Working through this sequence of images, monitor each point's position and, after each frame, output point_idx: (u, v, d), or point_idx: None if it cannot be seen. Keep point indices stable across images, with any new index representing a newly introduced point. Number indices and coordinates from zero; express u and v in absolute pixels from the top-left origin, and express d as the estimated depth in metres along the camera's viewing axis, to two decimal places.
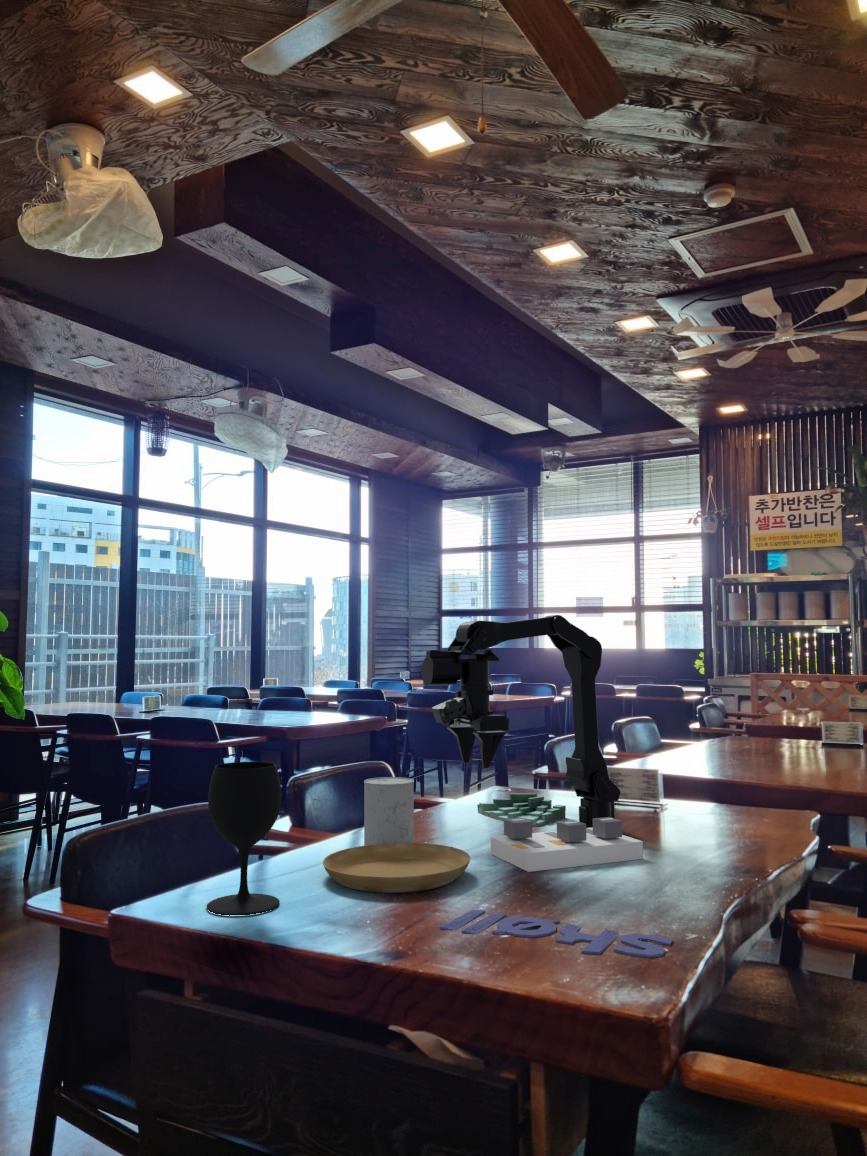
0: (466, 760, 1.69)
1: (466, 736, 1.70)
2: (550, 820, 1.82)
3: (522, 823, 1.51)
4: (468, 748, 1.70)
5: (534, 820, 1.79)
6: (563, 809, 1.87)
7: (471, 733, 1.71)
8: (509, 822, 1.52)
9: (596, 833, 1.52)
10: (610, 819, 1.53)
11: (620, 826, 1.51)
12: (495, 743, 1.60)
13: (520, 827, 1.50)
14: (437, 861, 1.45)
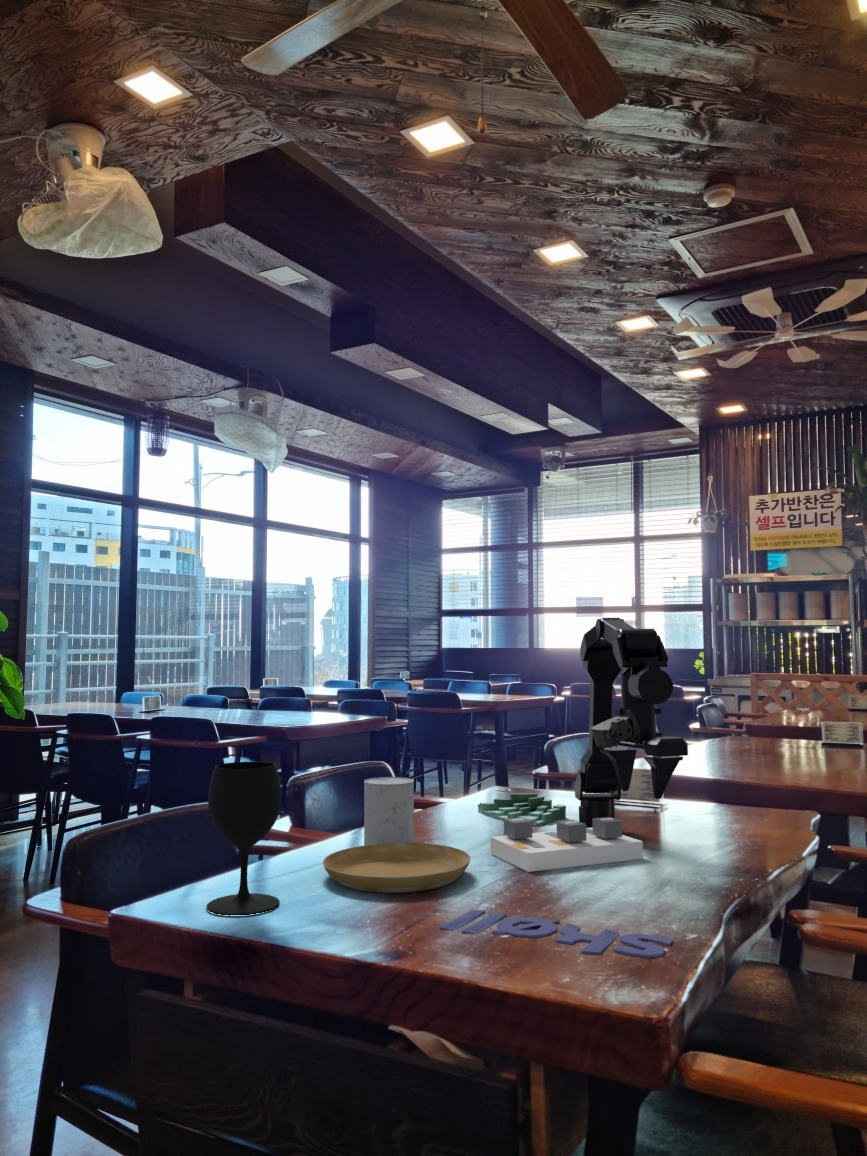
0: (625, 788, 1.47)
1: (624, 760, 1.48)
2: (550, 820, 1.82)
3: (522, 823, 1.51)
4: (627, 774, 1.48)
5: (534, 820, 1.79)
6: (563, 809, 1.87)
7: (630, 757, 1.49)
8: (509, 822, 1.52)
9: (596, 833, 1.52)
10: (610, 819, 1.53)
11: (620, 826, 1.51)
12: (669, 770, 1.38)
13: (520, 827, 1.50)
14: (437, 861, 1.45)
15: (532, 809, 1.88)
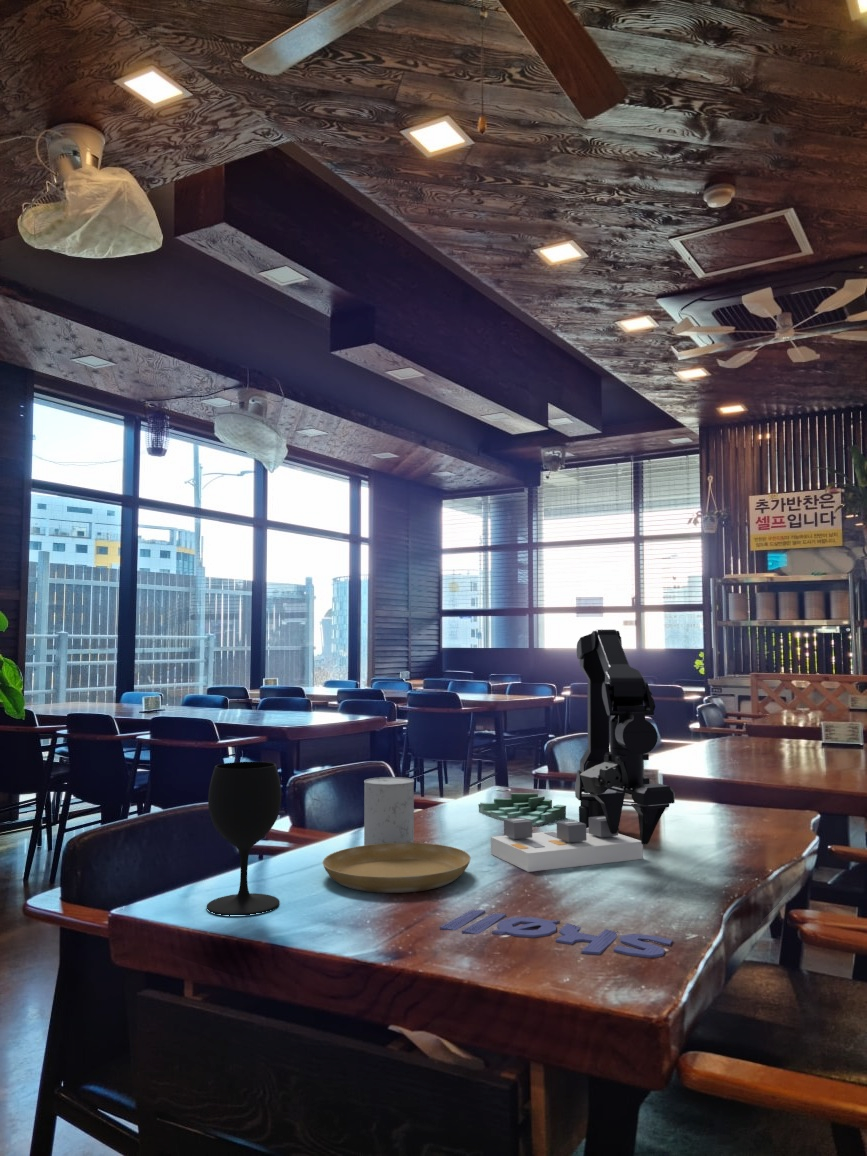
0: (614, 831, 1.51)
1: (613, 803, 1.52)
2: (550, 820, 1.82)
3: (522, 823, 1.51)
4: (616, 817, 1.51)
5: (533, 820, 1.80)
6: (563, 809, 1.87)
7: (618, 800, 1.52)
8: (509, 822, 1.52)
9: (592, 832, 1.54)
10: None
11: None
12: (656, 817, 1.42)
13: (520, 827, 1.50)
14: (437, 861, 1.45)
15: (532, 809, 1.89)
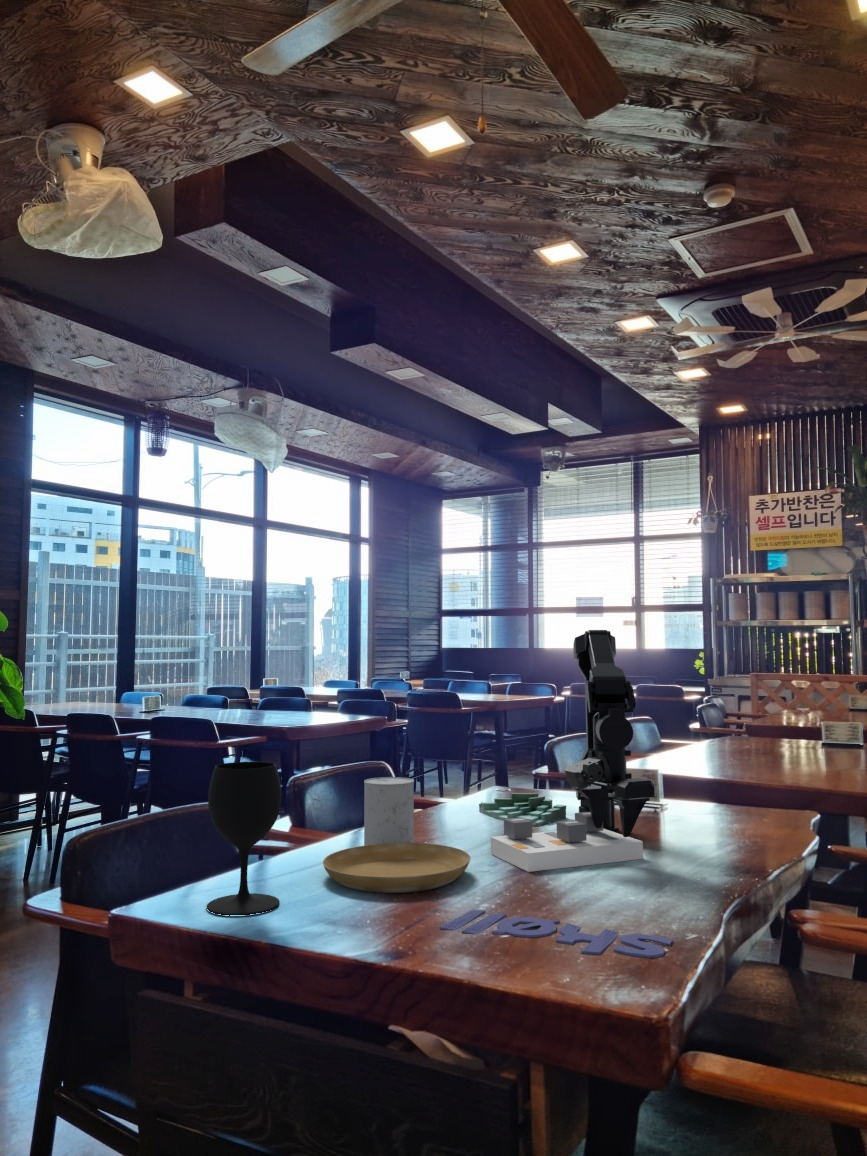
0: (599, 825, 1.55)
1: (597, 798, 1.56)
2: (550, 820, 1.82)
3: (522, 823, 1.51)
4: (600, 812, 1.56)
5: (533, 820, 1.80)
6: (563, 809, 1.87)
7: (603, 795, 1.57)
8: (509, 822, 1.52)
9: None
10: None
11: None
12: (637, 810, 1.47)
13: (520, 827, 1.50)
14: (437, 861, 1.45)
15: (532, 809, 1.89)
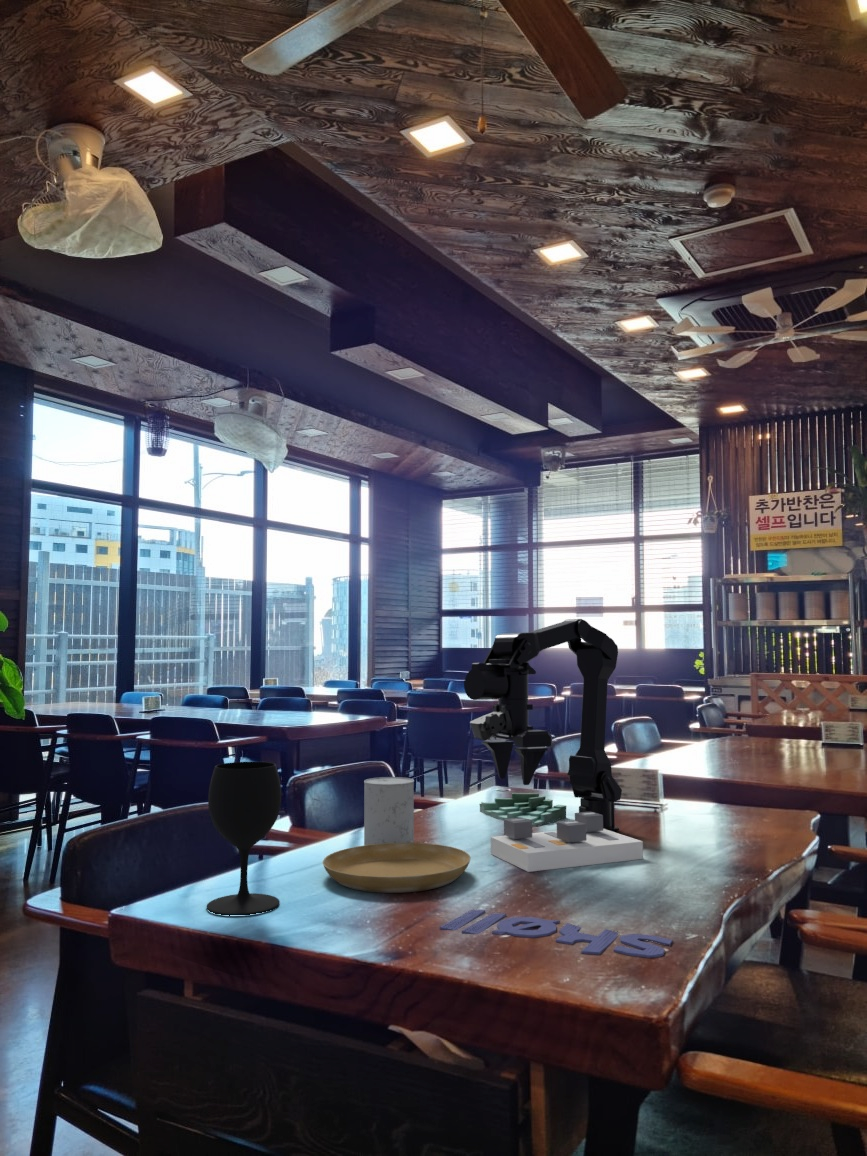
0: (502, 776, 1.64)
1: (502, 751, 1.65)
2: (549, 820, 1.82)
3: (522, 823, 1.51)
4: (504, 764, 1.65)
5: (533, 820, 1.80)
6: (563, 809, 1.87)
7: (507, 748, 1.66)
8: (509, 822, 1.52)
9: None
10: (591, 813, 1.58)
11: (601, 820, 1.57)
12: (536, 760, 1.56)
13: (520, 827, 1.50)
14: (437, 861, 1.45)
15: (532, 809, 1.89)
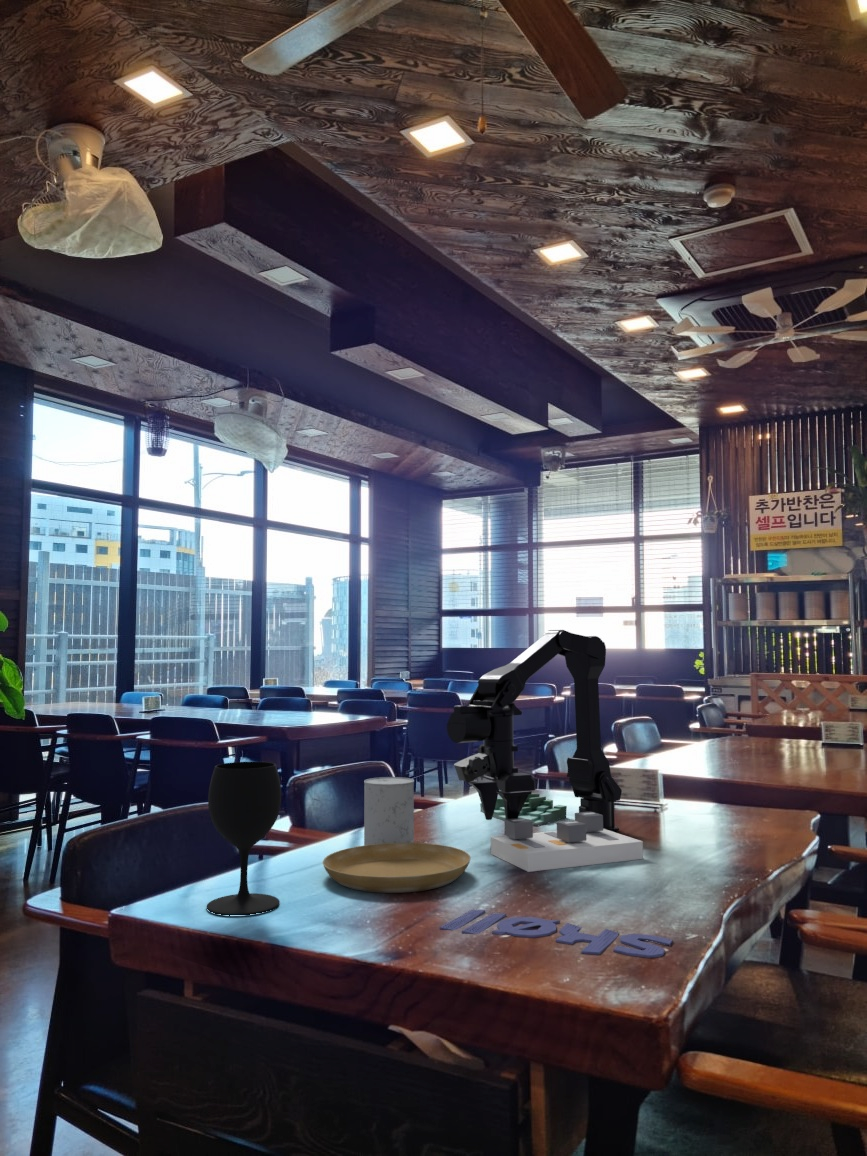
0: (489, 817, 1.63)
1: (488, 792, 1.64)
2: (549, 820, 1.82)
3: (523, 823, 1.50)
4: (491, 805, 1.64)
5: (532, 820, 1.80)
6: (564, 809, 1.87)
7: (494, 789, 1.65)
8: (510, 822, 1.51)
9: None
10: (591, 813, 1.58)
11: (601, 820, 1.57)
12: (520, 803, 1.54)
13: (520, 827, 1.50)
14: (437, 861, 1.45)
15: (533, 809, 1.89)
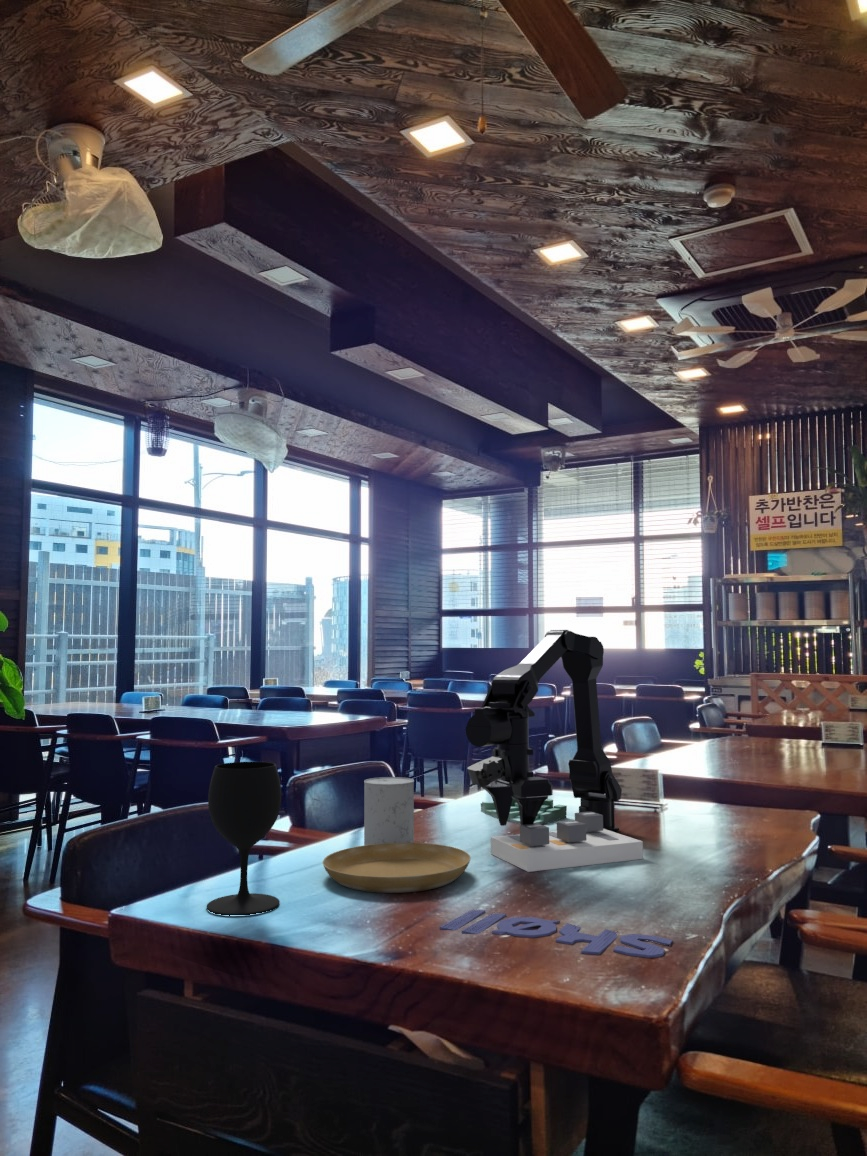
0: (503, 823, 1.58)
1: (503, 796, 1.59)
2: (549, 820, 1.82)
3: (539, 829, 1.45)
4: (505, 810, 1.58)
5: None
6: (564, 809, 1.87)
7: (508, 793, 1.59)
8: (525, 828, 1.46)
9: None
10: (591, 813, 1.58)
11: (601, 820, 1.57)
12: (536, 808, 1.49)
13: (536, 833, 1.45)
14: (437, 861, 1.45)
15: None
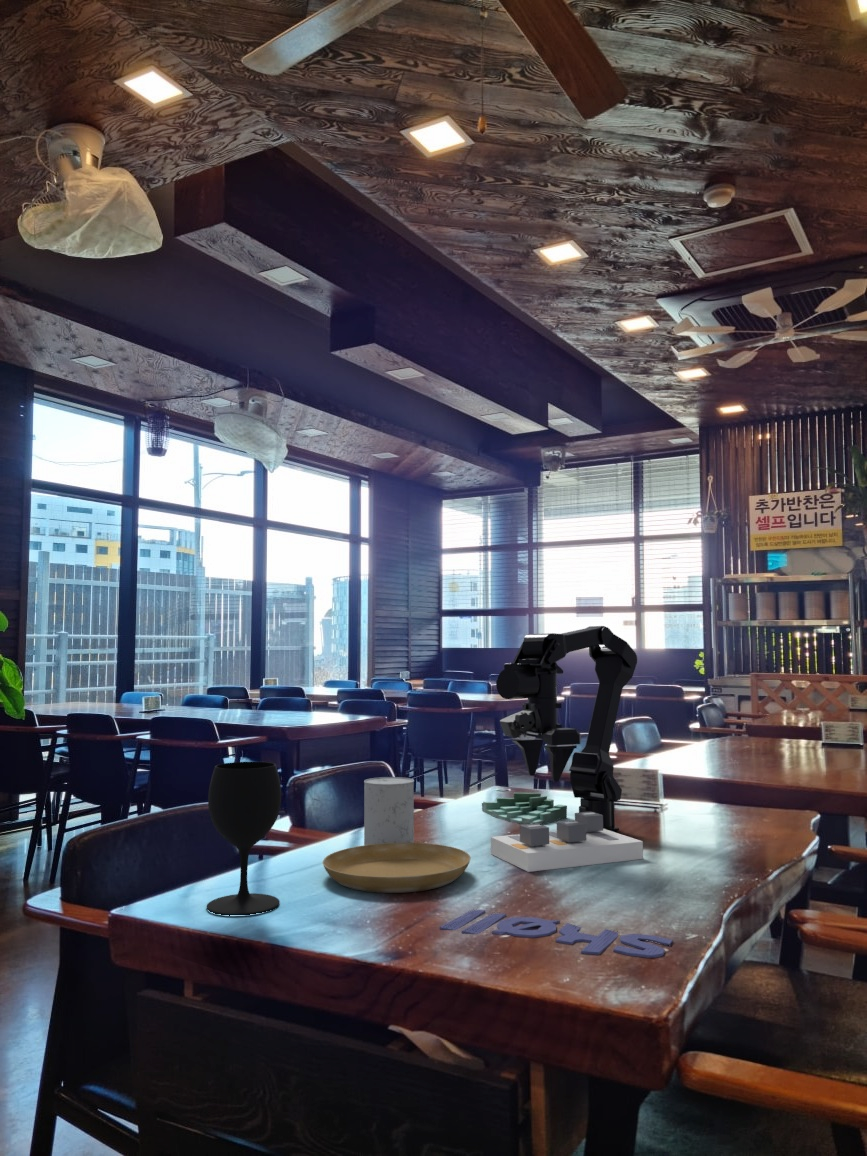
0: (532, 773, 1.68)
1: (531, 748, 1.69)
2: (549, 820, 1.83)
3: (539, 829, 1.45)
4: (534, 761, 1.69)
5: (531, 819, 1.80)
6: (564, 809, 1.87)
7: (537, 746, 1.70)
8: (525, 828, 1.46)
9: None
10: (591, 813, 1.58)
11: (601, 820, 1.57)
12: (565, 757, 1.59)
13: (537, 833, 1.45)
14: (437, 861, 1.45)
15: (533, 808, 1.89)
